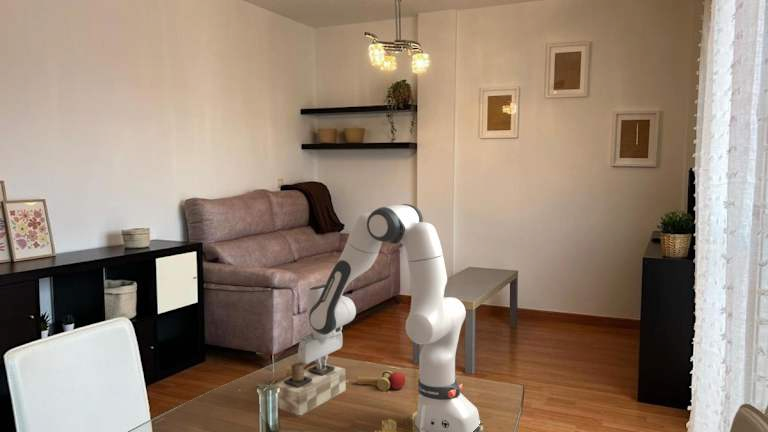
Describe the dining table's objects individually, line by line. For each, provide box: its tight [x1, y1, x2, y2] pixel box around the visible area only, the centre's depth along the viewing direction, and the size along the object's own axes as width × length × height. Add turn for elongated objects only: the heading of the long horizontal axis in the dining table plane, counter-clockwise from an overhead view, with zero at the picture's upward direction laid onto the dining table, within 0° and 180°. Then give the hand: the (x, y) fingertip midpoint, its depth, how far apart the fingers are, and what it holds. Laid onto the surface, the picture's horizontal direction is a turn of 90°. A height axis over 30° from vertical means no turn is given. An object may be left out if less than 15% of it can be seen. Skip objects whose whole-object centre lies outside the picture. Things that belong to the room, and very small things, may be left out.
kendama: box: [356, 370, 406, 391], centre depth 209 cm, size 8×6×18 cm
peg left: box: [291, 362, 305, 383], centre depth 194 cm, size 4×4×8 cm
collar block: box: [272, 363, 347, 416], centre depth 199 cm, size 12×24×9 cm, turn 145°
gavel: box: [285, 361, 316, 379], centre depth 223 cm, size 21×5×10 cm
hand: (321, 368), depth 204 cm, fingers closed
